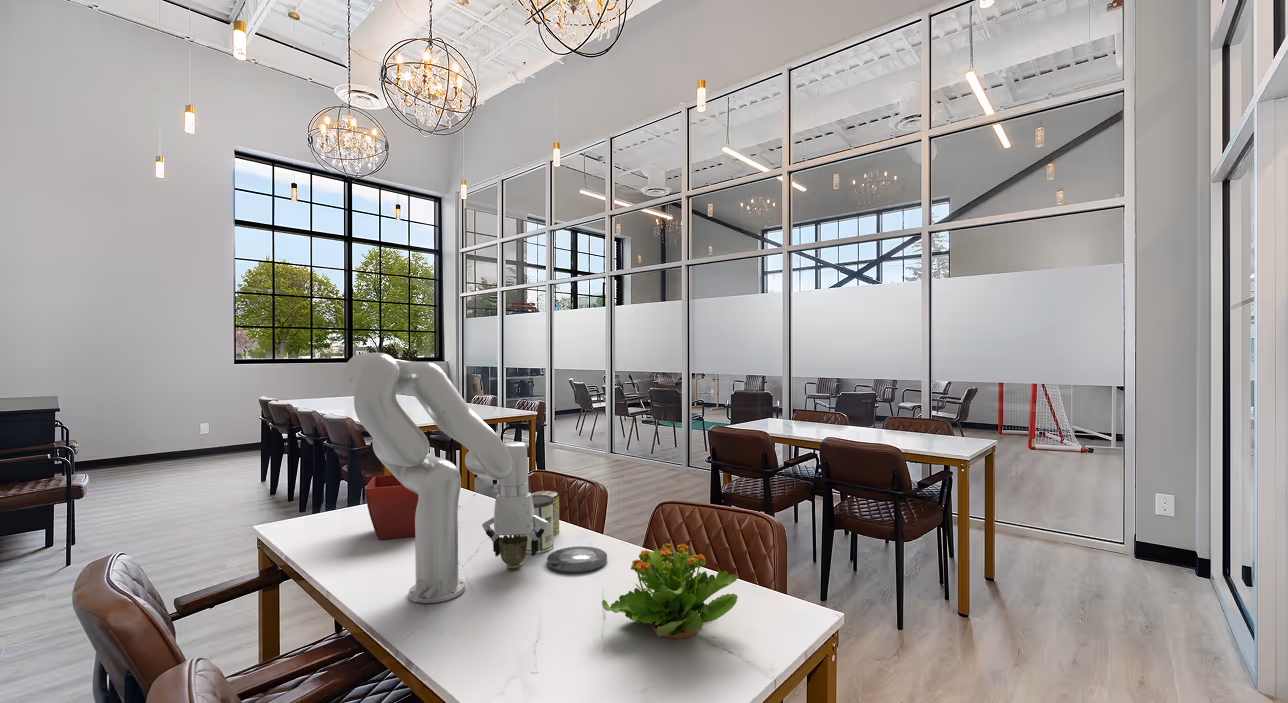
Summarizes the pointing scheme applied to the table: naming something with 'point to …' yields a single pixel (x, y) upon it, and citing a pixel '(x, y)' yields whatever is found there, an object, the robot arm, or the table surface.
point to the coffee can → (544, 511)
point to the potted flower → (674, 593)
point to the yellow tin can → (555, 508)
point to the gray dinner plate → (577, 560)
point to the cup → (513, 550)
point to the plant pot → (391, 507)
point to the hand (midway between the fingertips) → (516, 554)
